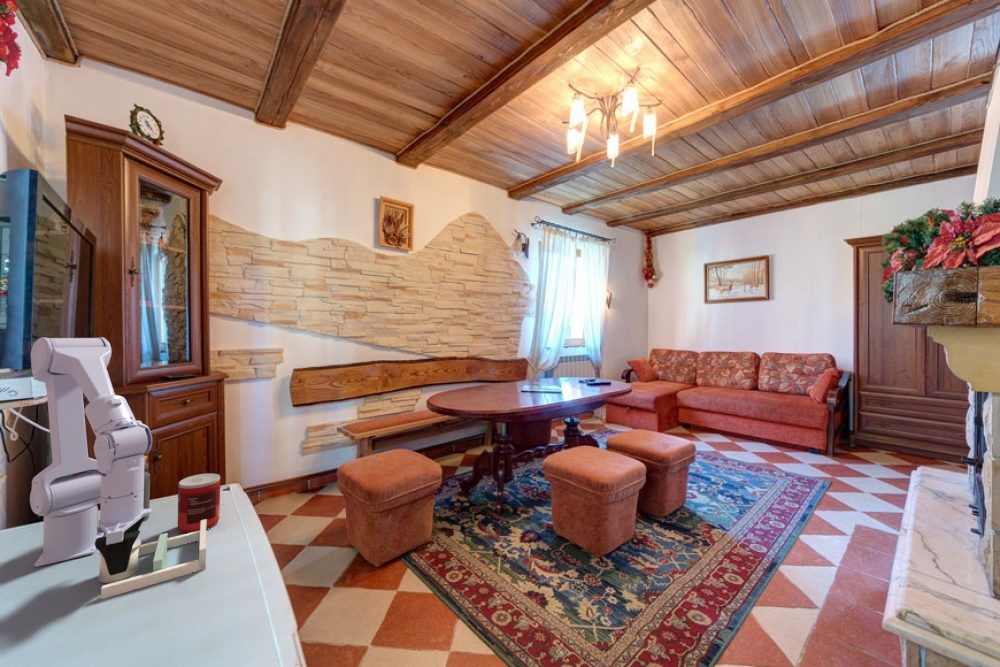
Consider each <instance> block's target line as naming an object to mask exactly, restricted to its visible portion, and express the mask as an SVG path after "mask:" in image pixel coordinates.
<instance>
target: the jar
mask: <svg viewBox="0 0 1000 667" xmlns="http://www.w3.org/2000/svg"><path fill="white" fill-rule="evenodd" d="M140 545H142V540H141V539H140V538H137V539H136V541H135V542H134V544H133V547H132V550H131V555H130V560H129V564H128V567H127V570H126V571H125V572H122V573H119V574H115V575H110V574H109V572H108V569H107V565H106V562H105V559H104V557H103V555H102V554H101V552H100V551H99V556H100V566H99V574H98V575H99V576H98V581H99V582H100V583H103V584H104V583H106V584H109V583H114V582H118V581H121V580H125V579H128V578H130V577H131V576H133V575H134V574H135V573H137V571H138V562H139V556H138V553H139V547H140Z"/></svg>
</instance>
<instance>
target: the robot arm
mask: <svg viewBox="0 0 1000 667" xmlns="http://www.w3.org/2000/svg"><path fill="white" fill-rule="evenodd" d="M111 357H112V347H111V343H110V342H109V340H107V338H105V337H104V336H103V337H102V336H101V337H45V336H44V337H39V338H38V339H37V340H35V341H34V342H33V345H32V347H31V350H30V363H31V364H30V365H31V373H32V374H31V375H32V376H33V380H35V381H37V382H42V383H44V385H45V389H46V390H45V391H46V395H47V396H46V397H47V398H46V399H47V408H48V422H49V434H50V435H49V436H50V447H51V458H52V463H51V464H50V465H48V466H47V467H45V468H44V469H43V470H42V471H40V472H39V473H37V474H36V475H35V476H34V477H33V478H32V481H31V491H30V494H29V504H30V508H31V510H32V512H33V513H34V514H35V515H37V516H39V517H43V535H42V536H43V537H42V538H43V540H42V541H43V543H42V544H43V546H42V548H43V549H42V554H41V555H40V556H39V558H38V559H37V560H36V562H35V563H34V564H33V567H34V568H38V567H42V566H46V565H50V564H54V563H59V562H63V561H67V560H72V559H76V558H80V557H84V556H89V555H93V554H94V553H95V552H96V550H97V551H98V552H99V553H100V552H101V554H102V555H103V557H104V559H105V562H106V565H107V569H108V572H109V574H110V575H115V574H119V573H122V572H125V571H126V570H127V567H128V564H129V560H130V555H131V550H132V547H133V544H134V542H135V541H136V539H138V537H139V535H140V534H141V530H140V528H141V526H142V524H143V522H144V521H143V520H144V519H145V516H148V515H149V516H151V514H152V511H153V509H152V508H151V507H149V509H143V503H144V456H145V455H146V454H148V453H149V452H150V451H151V450H152V447H153V435H152V432H151V429H150V427H149V426H148V425H146V424H144V423H143V422H142V421H141V420H136V418H135V415H134V413H133V411H132V410H131V408H130V406H129V404H128V402H127V399H126V398H125V397H124V396H121V395H118V394H116V393H115V391H114V387H113V384H112V382H111V378H110V374H109V372H108V369H107V368H108V365H109V364H110V360H111ZM84 396H85V397H86V399H87V401H88V404H87V405H86V406H85V405H84ZM84 406H85V408H84ZM85 416H86V417H87V420H88V422H89V424H90V427H91V429H92V431H93V433H94V435H95V441H94V445H93V451H94V456H95V459H94V458H93V457H90V456H89V452H88V441H87V440H88V438H87V430H86V418H85ZM78 473H79V474H78ZM74 474H75V475H74ZM70 475H71V476H70ZM65 476H67V477H65ZM61 477H63V478H61ZM98 504H99V505H100V511H99V507H98ZM99 512H100V513H99ZM99 515H100V516H99ZM99 528H100V529H101V532H98V530H99ZM104 534H105V535H104Z"/></svg>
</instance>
